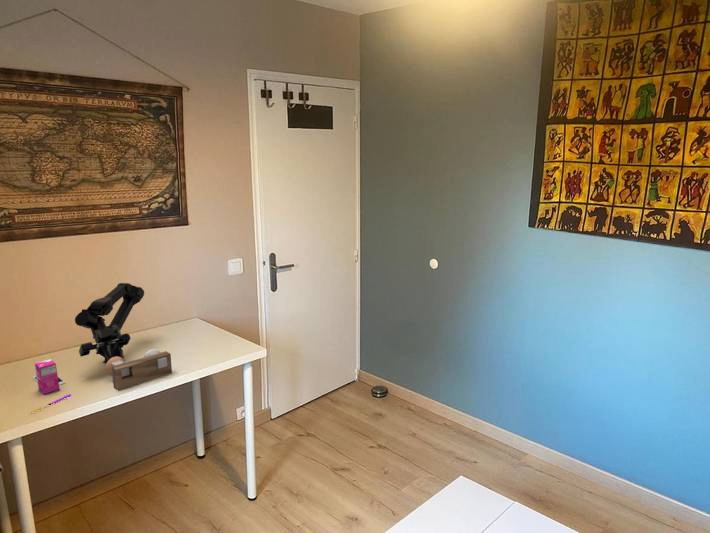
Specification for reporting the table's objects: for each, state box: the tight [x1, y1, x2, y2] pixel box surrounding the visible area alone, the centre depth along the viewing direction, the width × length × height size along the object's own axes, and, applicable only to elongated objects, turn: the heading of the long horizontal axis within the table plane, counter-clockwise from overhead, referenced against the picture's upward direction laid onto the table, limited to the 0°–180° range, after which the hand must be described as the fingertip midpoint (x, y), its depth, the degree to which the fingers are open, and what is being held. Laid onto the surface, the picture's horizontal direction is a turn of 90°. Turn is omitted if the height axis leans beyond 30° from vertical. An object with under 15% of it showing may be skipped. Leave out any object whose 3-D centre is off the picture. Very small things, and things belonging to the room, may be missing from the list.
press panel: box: [111, 350, 173, 392], centre depth 201 cm, size 4×22×9 cm, turn 137°
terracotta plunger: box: [105, 356, 130, 377], centre depth 199 cm, size 9×7×7 cm
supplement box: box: [34, 358, 61, 396], centre depth 192 cm, size 6×6×12 cm
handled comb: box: [30, 393, 72, 413], centre depth 182 cm, size 3×1×16 cm
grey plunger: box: [143, 348, 167, 369], centre depth 207 cm, size 9×7×7 cm
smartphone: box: [32, 375, 66, 386], centre depth 201 cm, size 7×15×1 cm, turn 48°
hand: (112, 362), depth 203 cm, fingers closed
